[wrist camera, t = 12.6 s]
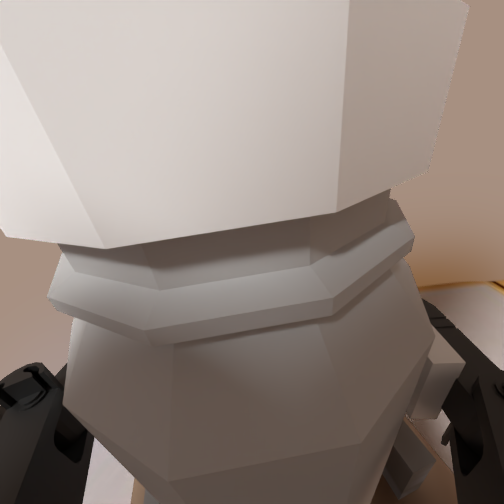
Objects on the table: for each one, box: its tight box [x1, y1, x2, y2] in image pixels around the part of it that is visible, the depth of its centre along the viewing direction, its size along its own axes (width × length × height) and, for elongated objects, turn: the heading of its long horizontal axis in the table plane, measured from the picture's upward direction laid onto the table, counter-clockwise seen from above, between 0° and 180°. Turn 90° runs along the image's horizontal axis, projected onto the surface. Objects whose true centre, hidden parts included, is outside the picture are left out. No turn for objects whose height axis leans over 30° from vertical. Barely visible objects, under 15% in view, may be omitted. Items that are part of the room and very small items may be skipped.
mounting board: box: [131, 416, 458, 504], centre depth 14 cm, size 20×16×5 cm
